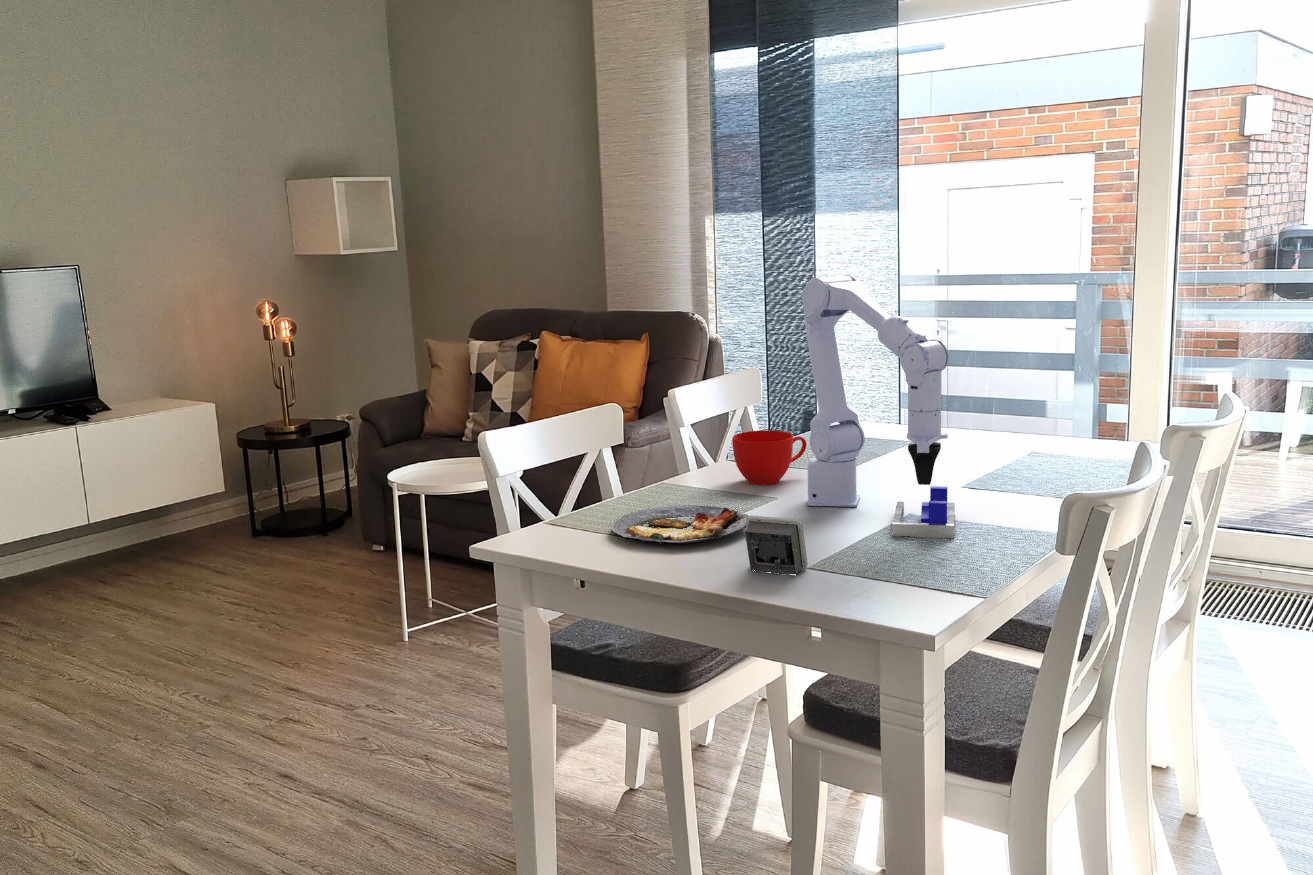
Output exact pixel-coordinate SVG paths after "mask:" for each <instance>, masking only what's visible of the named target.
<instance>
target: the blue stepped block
mask: <svg viewBox="0 0 1313 875" xmlns="http://www.w3.org/2000/svg"><path fill="white" fill-rule="evenodd" d="M929 488H930V490H929V491H930V493H929V494H930V495H929V496H930V497H929V498H930V499H929V500H928V501H922V502H921V514H920V515H921V516H920V523H939V524H947V512H948V486H936V485H933V486H930V487H929Z"/></svg>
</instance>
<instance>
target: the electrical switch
mask: <svg viewBox="0 0 1313 875" xmlns="http://www.w3.org/2000/svg"><path fill="white" fill-rule="evenodd" d="M746 527H747V528H745V531H744V535H745V536H744V537H745V542H746V550H747V556H748V562H749V568H750V571H752V570H753V571H754V570H755V571H756V572H755V571H754V572H755V573H761V572H771V573H776V574H775V575H781V574H796V576H798V574H799V572H800V571H806V569H807V567H808V556H807V549H806V540H805V533H804V524H803V521H802V520H801V519H800V518H788V517H777V516H764V515H763V516H762V515H748V517H747V519H746ZM754 572H753V573H754ZM771 573H770V574H771ZM778 573H779V574H778Z"/></svg>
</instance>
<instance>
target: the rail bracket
mask: <svg viewBox="0 0 1313 875" xmlns="http://www.w3.org/2000/svg"><path fill="white" fill-rule="evenodd" d="M955 505H956V504H955V502H947V524H939V523H921V522H903V520H904V513H905V512H904V511H905V510H904V509H905V502H904V501H897V502H896V505H895V510H894V515H893V519H892V522H891V523H892V524H891V525H892V526H891V531H892V532H891V533H892V534H891V535H892V537H900V536H910V537H911V538H932V539H933V538H934V539H935V538H937V539H938V538H939V539H941V538H942V539H955V509H956V508H955V507H956V506H955ZM910 537H909V538H910Z"/></svg>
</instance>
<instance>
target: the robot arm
mask: <svg viewBox="0 0 1313 875" xmlns="http://www.w3.org/2000/svg"><path fill="white" fill-rule="evenodd" d="M800 294H801V299H802V300H801V301H802V306H803V313H804V329H805V334H806V335H805V336H806V340H807V346H808V353H809V358H810V364H811V365H810V366H811V371H812V377H813V382H814V390H815V393H816V394H815V396H816V402H817V407H818V412H817V413H816V415H815V416H814V417H813V418H812V419H811V420H810V423H809V425H810V426H809V427H810V436H809V447H810V450H811V451H812V453H813V455H814V456H815V457H810V458H808V462H807V463H808V464H807V499H808V500H807V506H809V507H811V506H812V507H813V506H814V507H846V508H847V507H851V508H854V507H855V508H856V507H857V506H858V505H859V504H858V503H859V501H860V499H861V495H860V494H857V457H860V456H859V453H860V451H861V450H862V449H863V448H864V447H865V446H864V445H865V439H866V438H865V432H864V430H863V428H862V426H861V424H860V421H859V417H858V414H857V413H856V412H855V411H853V410H852V409H850V408H849V407H848V405H847V404H848V403H847V399H846V398H847V397H846V392H845V386H844V382H843V381H844V380H843V373H842V369H841V362H840V357H839V355H840V354H839V351H838V344H837V339H836V332H835V326H836V325H837V323H838V322H839V320H840V319H842V317H844V316H845V315H846V314H847V313H849V312H851V313H853V314H854V315H855V316H857V317H858V318H860V319H861V320H862V321H864V322H865V323H866V324H867V325H869V326H870V327H871V328H873V329H875V330H876V331H877V339H878V341H879V342H880V343H881V344H882V345H883V346H885V347H886V348H887V349H888V350H890V351H891V353H893V354H894V355H895V356H897V358H899V359H900V366H901V367H902V370H903V372H904V374H905V382H906V384H907V433H906V439H907V440H909V441H910V442H912V443H909V444H908V445H907V450H908V453H909V455H910V457H911V460H912V462H913V465H914V470H915V476H916V482H917V484H918V485H920V486H921V485H922V486H923V485H924V486H930V485H931V482H932V479H933V472H934V467H935V463H936V460H937V457H938V456H939V454H940V451H941V449H942V443H941V442H938V441H941V439H944V440H945V439H948V438H949V436H948V435H949V434H948V432H942V371H944V370H945V369H946V368H947V366H948V363H949V360H950V359H949V358H950V357H949V356H950V355H949V350H948V349H947V347H946V345H945V344H944V343H943V341H942V340H940V339H936V338H935V339H930V337H929V338H928V337H926V336H927V335H926V334H925V333H923V332H920V331H918V329H916V328H915V327H914V326H913V325H912V324H911V323H909V320H910V319H908V318H907V317H906V316H900V315H893V316H891V315H890V314H889V313H888V312H887V311H886V310H885V309H883V307H882V306H881V305H880V304H879V303H878V302H877V301H876V300H874V299H873V298H872V296H871V295H870V294H868V292H867V291H866V290H865V288H864V284H863V282H861V281H859V280H858V279H857V278H856V277H855V276H853V275H852V274H845V275H843V276H842V275H841V276H829V277H813V278H811V279H809V280H808V281H807V283H806V284H805V286H804V287H803V289H802V292H801V293H800ZM834 423H837V424H834Z"/></svg>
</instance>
